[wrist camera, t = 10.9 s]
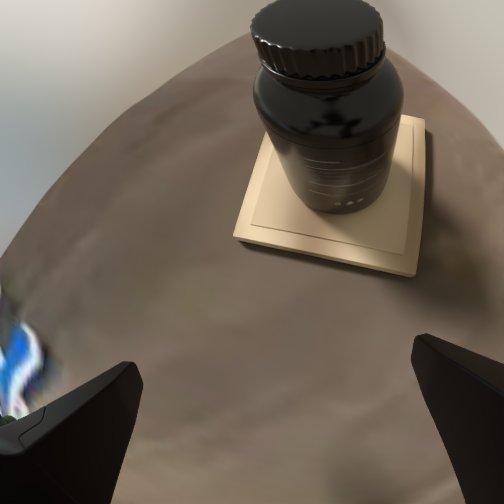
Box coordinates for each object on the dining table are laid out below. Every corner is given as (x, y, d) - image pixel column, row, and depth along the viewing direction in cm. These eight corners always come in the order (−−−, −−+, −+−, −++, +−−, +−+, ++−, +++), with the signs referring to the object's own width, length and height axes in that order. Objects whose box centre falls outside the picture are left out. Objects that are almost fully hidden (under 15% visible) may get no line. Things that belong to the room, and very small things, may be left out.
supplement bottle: (280, 142, 20) (219, 3, 9) (370, 125, 19) (366, -23, 7) (296, 229, 18) (227, 91, 7) (400, 209, 17) (450, 57, 5)
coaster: (422, 127, 18) (424, 118, 17) (411, 277, 16) (415, 274, 15) (279, 107, 23) (276, 99, 22) (237, 240, 20) (232, 235, 19)
